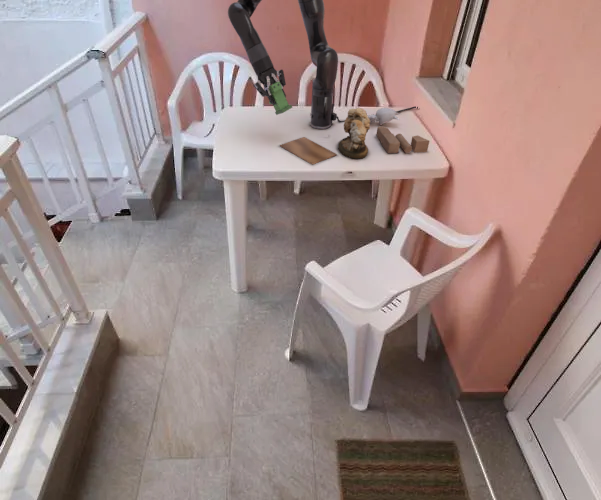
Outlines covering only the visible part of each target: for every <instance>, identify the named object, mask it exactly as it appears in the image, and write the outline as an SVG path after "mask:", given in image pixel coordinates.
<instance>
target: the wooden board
mask: <svg viewBox="0 0 601 500" xmlns="http://www.w3.org/2000/svg"><path fill="white" fill-rule="evenodd" d="M279 146H280V147H281V148H282V149H285V150H286V151H287V152H289V153H291V154H293V155H295V156H296V157H298V158H300V159H301V160H303V161H305V162H307V163H309V164H310V165H316V164H318V163H321V162H323V161H326V160H329V159H331V158H333V157H336V156H337V153H336V152H333V150H332V151H331V150H330V149H328V148H326V147H324V146H322V145H320V144H318V143H317V142H314V140H313V141H312V140H310V139H309V138H307V137H304V136H303V137H299V138H297V139H293V140H291V141H288V142H284V143H282V144H280V145H279Z"/></svg>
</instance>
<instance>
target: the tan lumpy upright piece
mask: <svg viewBox="0 0 601 500" xmlns="http://www.w3.org/2000/svg"><path fill="white" fill-rule="evenodd" d="M367 115H368V113H367V111H366V110H365V109H364V108H362V107H356V108H350V109H349V110H348V111H347V116H346V118H345V120H343V121H344V122H343V130H344V133H345V134H348V135H347V136H346V137H344V138H342V139H341V140H340V141H339V142H338V144H337V148H338V151H339V152H340V154H342V155H343V156H344V157H346V158H349V159H352V160H362V159H365V158H366V157H367V156H368V154H369V148H368V146H367V145H366V137H367V133H368V132H369V131H370V126H371V125H370V123H371V122H370V119H369V118H368V117H367Z"/></svg>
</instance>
